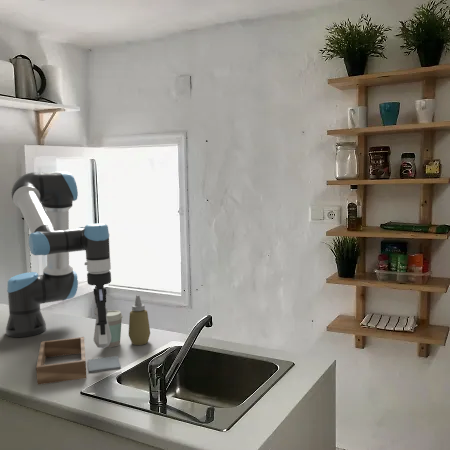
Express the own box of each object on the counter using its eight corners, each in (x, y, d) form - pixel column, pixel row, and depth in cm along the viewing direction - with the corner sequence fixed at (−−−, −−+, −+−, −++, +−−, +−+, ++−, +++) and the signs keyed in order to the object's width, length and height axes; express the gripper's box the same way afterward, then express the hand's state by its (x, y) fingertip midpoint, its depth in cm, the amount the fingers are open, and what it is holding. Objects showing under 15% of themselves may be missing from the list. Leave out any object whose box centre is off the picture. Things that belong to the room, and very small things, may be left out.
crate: (42, 356, 175) (41, 341, 174) (84, 351, 179) (84, 336, 178) (37, 384, 152) (36, 367, 151) (86, 378, 156) (85, 361, 156)
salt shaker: (107, 349, 162) (105, 310, 161) (90, 348, 163) (88, 309, 162) (114, 343, 168) (112, 305, 166) (98, 342, 169) (96, 304, 168)
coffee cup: (128, 342, 188) (126, 311, 186) (114, 349, 180) (112, 317, 179) (109, 339, 191) (108, 308, 190) (95, 346, 184) (93, 315, 182)
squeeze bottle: (124, 345, 184) (122, 297, 182) (136, 338, 192) (134, 292, 190) (143, 347, 181) (141, 299, 179) (154, 340, 189) (152, 293, 187)
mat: (88, 361, 170) (87, 359, 170) (118, 357, 173) (117, 355, 172) (88, 372, 160) (88, 370, 160) (120, 368, 163) (120, 366, 163)
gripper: (86, 267, 171) (90, 333, 173) (87, 278, 153) (92, 351, 155) (108, 265, 173) (112, 330, 175) (112, 276, 155) (116, 348, 157)
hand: (102, 340), depth 165 cm, fingers closed on salt shaker, 6 cm apart
